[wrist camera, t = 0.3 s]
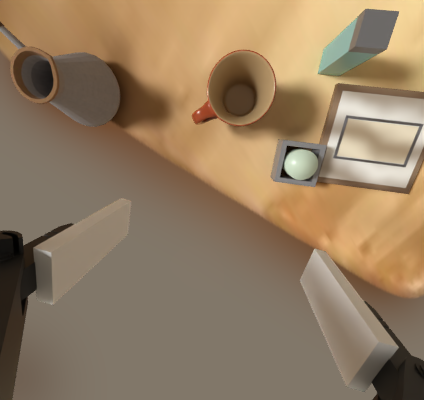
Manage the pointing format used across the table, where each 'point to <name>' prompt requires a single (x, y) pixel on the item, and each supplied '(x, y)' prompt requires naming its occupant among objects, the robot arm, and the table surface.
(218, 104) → the mug
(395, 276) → the table surface
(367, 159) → the picture frame
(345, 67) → the grey and mint block
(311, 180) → the button frame
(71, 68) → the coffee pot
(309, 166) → the button
